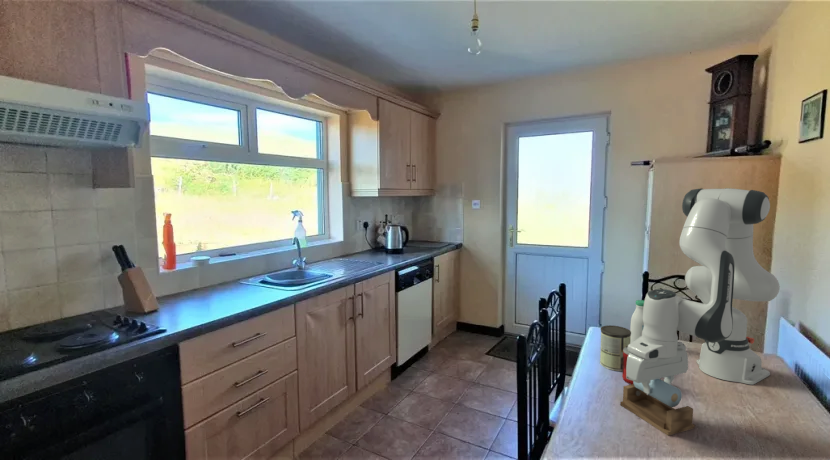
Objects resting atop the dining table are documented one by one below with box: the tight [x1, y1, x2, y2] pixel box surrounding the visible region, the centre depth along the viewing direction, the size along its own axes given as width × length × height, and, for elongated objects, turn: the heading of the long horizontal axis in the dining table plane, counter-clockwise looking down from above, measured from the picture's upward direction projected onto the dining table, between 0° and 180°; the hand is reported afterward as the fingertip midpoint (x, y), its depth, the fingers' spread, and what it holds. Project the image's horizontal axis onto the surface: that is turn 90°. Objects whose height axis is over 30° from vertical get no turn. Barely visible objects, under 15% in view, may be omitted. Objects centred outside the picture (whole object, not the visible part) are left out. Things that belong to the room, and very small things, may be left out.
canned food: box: [621, 347, 634, 385], centre depth 133 cm, size 8×8×11 cm
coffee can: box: [599, 325, 631, 372], centre depth 145 cm, size 10×10×14 cm
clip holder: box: [619, 384, 696, 437], centre depth 113 cm, size 10×16×6 cm, turn 18°
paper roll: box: [633, 378, 683, 408], centre depth 112 cm, size 6×11×6 cm, turn 18°
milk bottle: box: [629, 299, 645, 343], centre depth 162 cm, size 8×8×20 cm
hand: (656, 390), depth 112 cm, fingers closed on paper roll, 6 cm apart
